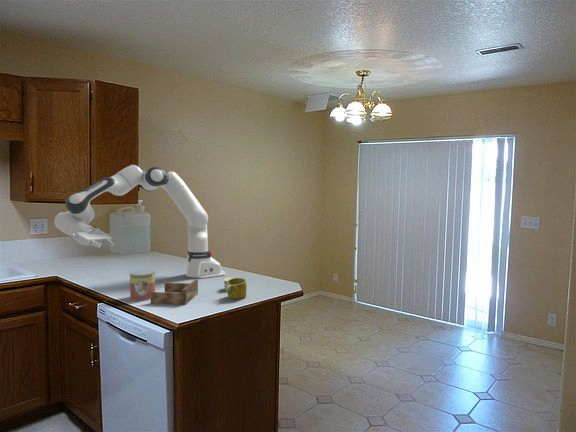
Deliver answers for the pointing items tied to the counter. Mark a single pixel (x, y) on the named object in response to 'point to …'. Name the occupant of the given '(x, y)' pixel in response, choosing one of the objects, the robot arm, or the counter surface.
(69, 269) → the counter surface
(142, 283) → the canned food
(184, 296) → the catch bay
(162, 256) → the counter surface
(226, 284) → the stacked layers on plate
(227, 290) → the mug
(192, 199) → the robot arm
